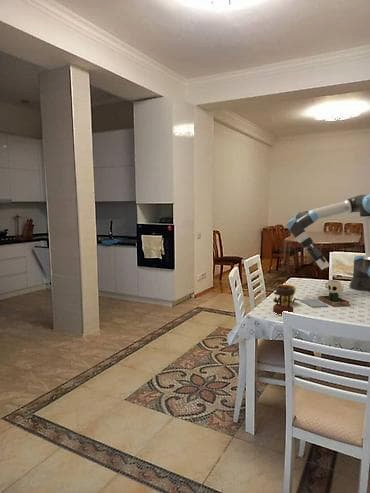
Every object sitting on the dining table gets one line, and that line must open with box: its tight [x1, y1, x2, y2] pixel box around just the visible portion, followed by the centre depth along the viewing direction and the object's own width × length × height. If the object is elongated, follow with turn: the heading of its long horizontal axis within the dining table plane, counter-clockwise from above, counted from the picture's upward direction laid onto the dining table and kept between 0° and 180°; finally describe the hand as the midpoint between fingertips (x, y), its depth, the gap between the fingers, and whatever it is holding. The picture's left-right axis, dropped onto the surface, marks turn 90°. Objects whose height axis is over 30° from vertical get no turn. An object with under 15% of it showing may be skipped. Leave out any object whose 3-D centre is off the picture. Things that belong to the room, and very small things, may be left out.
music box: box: [272, 276, 301, 316], centre depth 187 cm, size 15×11×20 cm
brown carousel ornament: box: [277, 283, 297, 305], centre depth 207 cm, size 10×10×10 cm
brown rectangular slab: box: [317, 294, 350, 307], centre depth 208 cm, size 11×15×2 cm
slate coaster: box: [299, 298, 329, 308], centre depth 206 cm, size 10×14×1 cm
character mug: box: [324, 279, 344, 302], centre depth 207 cm, size 11×7×13 cm, turn 43°
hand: (325, 267), depth 216 cm, fingers open, 13 cm apart
